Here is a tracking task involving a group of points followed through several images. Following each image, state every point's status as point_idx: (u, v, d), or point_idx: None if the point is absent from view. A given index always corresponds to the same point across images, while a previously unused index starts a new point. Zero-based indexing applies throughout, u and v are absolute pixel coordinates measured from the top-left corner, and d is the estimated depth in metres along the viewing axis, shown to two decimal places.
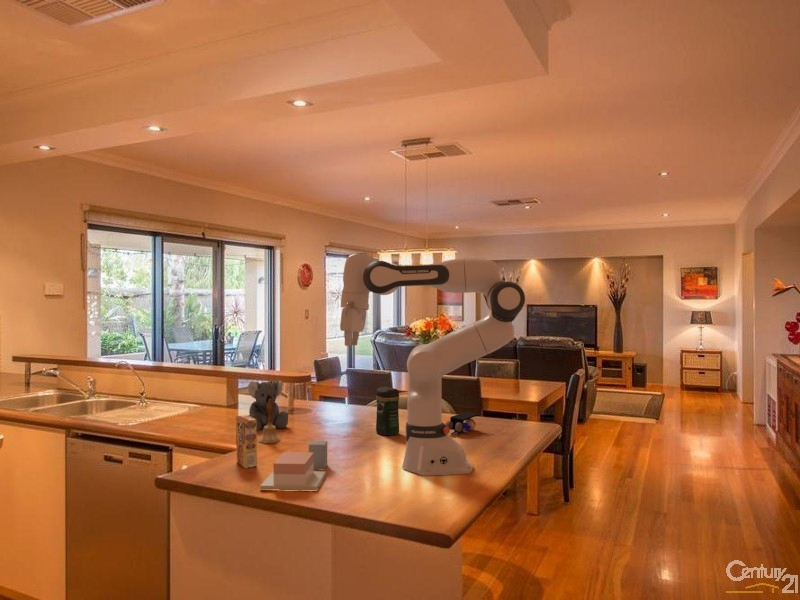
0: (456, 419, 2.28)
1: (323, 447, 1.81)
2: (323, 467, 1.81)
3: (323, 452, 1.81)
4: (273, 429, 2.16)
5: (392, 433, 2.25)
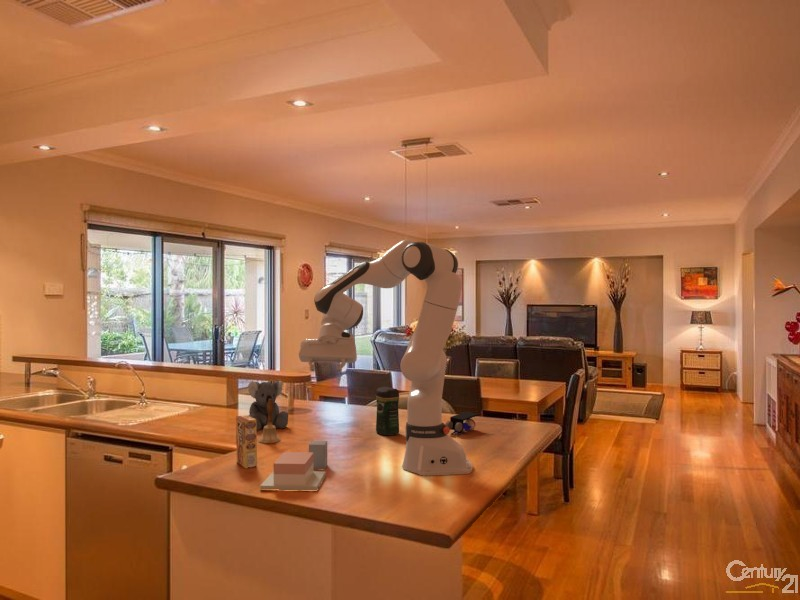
0: (456, 419, 2.28)
1: (323, 447, 1.81)
2: (323, 467, 1.81)
3: (323, 452, 1.81)
4: (273, 429, 2.16)
5: (392, 433, 2.25)
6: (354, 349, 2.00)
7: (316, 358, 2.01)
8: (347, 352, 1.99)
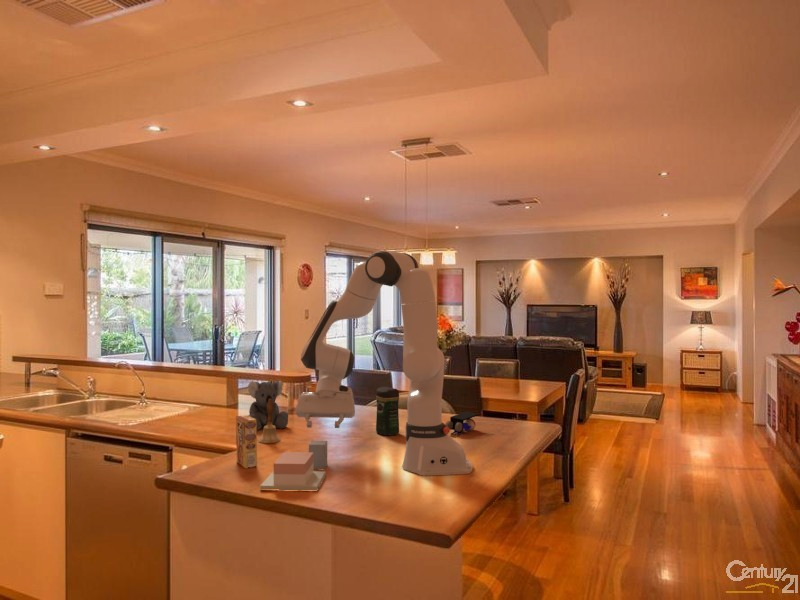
0: (456, 419, 2.28)
1: (323, 447, 1.81)
2: (323, 467, 1.81)
3: (323, 452, 1.81)
4: (273, 429, 2.16)
5: (392, 433, 2.25)
6: (352, 404, 1.95)
7: (313, 413, 1.96)
8: (345, 407, 1.95)
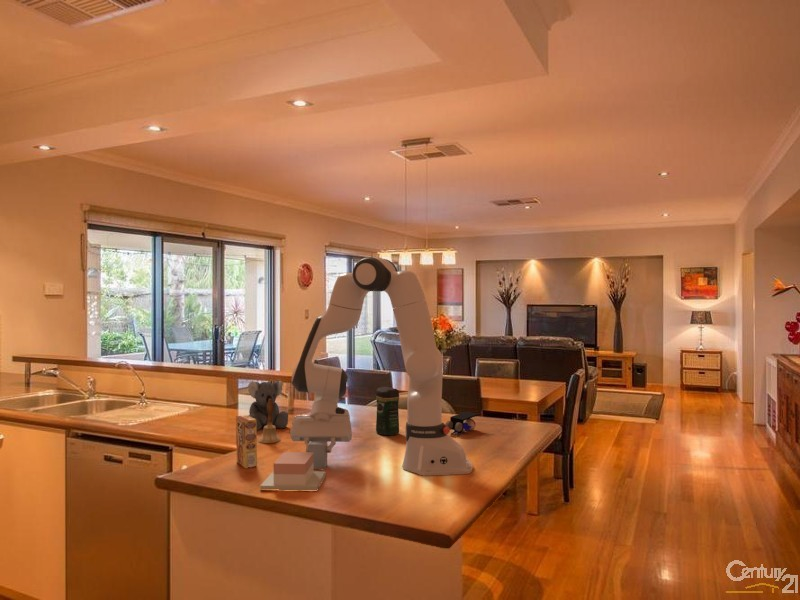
0: (456, 419, 2.28)
1: (323, 447, 1.81)
2: (323, 467, 1.81)
3: (323, 452, 1.81)
4: (273, 429, 2.16)
5: (392, 433, 2.25)
6: (349, 427, 1.87)
7: None
8: (341, 431, 1.87)
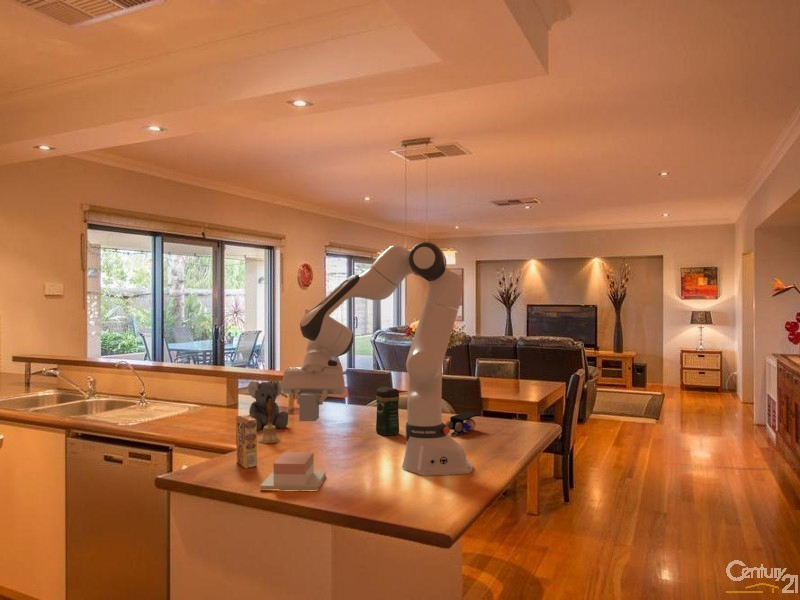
0: (456, 419, 2.28)
1: (314, 398, 1.75)
2: (314, 418, 1.75)
3: (314, 403, 1.75)
4: (273, 429, 2.16)
5: (392, 433, 2.25)
6: (341, 379, 1.81)
7: None
8: (334, 383, 1.81)
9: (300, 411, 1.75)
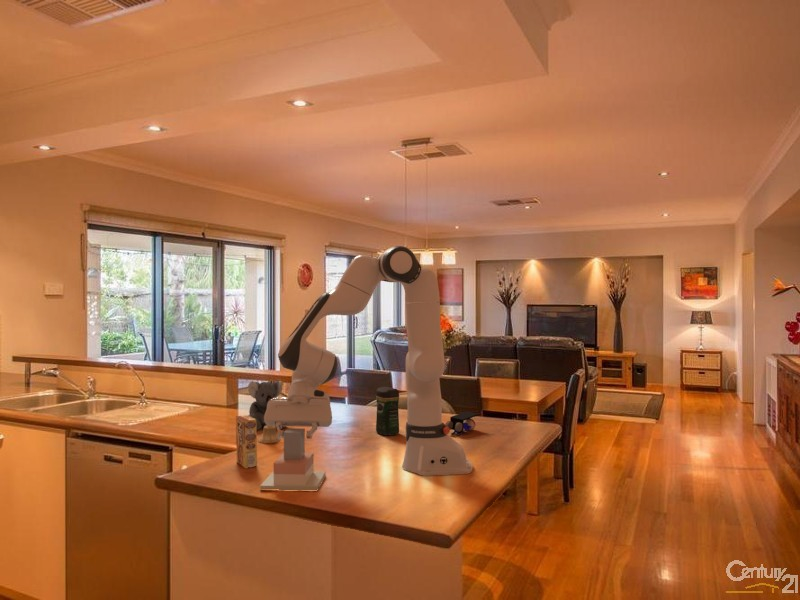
0: (456, 419, 2.28)
1: (299, 435, 1.65)
2: (299, 457, 1.65)
3: (299, 441, 1.65)
4: (273, 429, 2.16)
5: (392, 433, 2.25)
6: (328, 411, 1.71)
7: (284, 422, 1.72)
8: (320, 415, 1.71)
9: (284, 449, 1.65)
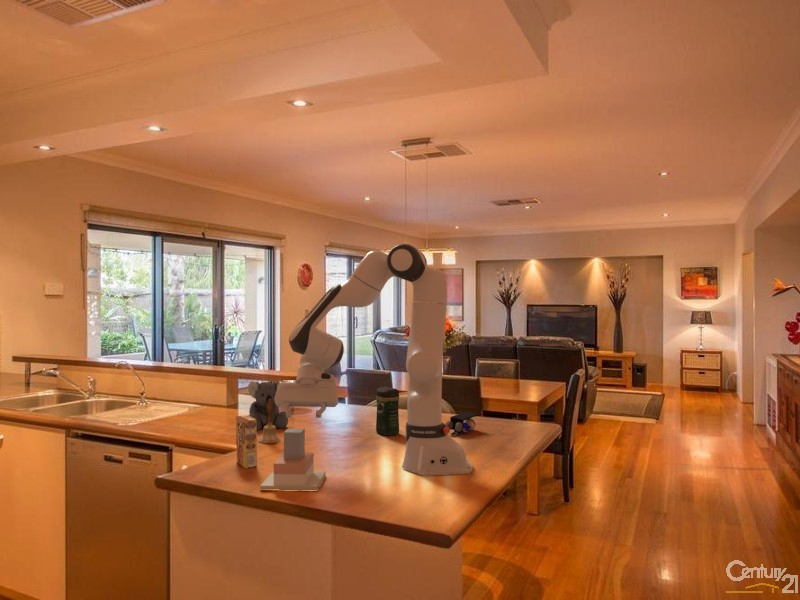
0: (456, 419, 2.28)
1: (299, 435, 1.65)
2: (299, 457, 1.65)
3: (299, 441, 1.65)
4: (273, 429, 2.16)
5: (392, 433, 2.25)
6: (335, 392, 1.83)
7: (293, 402, 1.84)
8: (327, 396, 1.83)
9: (284, 449, 1.65)
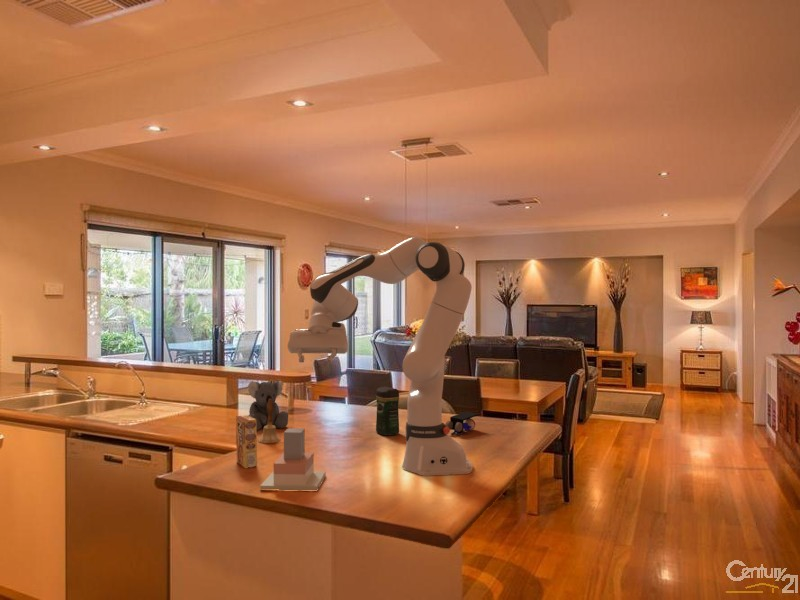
0: (456, 419, 2.28)
1: (299, 435, 1.65)
2: (299, 457, 1.65)
3: (299, 441, 1.65)
4: (273, 429, 2.16)
5: (392, 433, 2.25)
6: (345, 339, 1.92)
7: (306, 349, 1.93)
8: (338, 342, 1.92)
9: (284, 449, 1.65)
